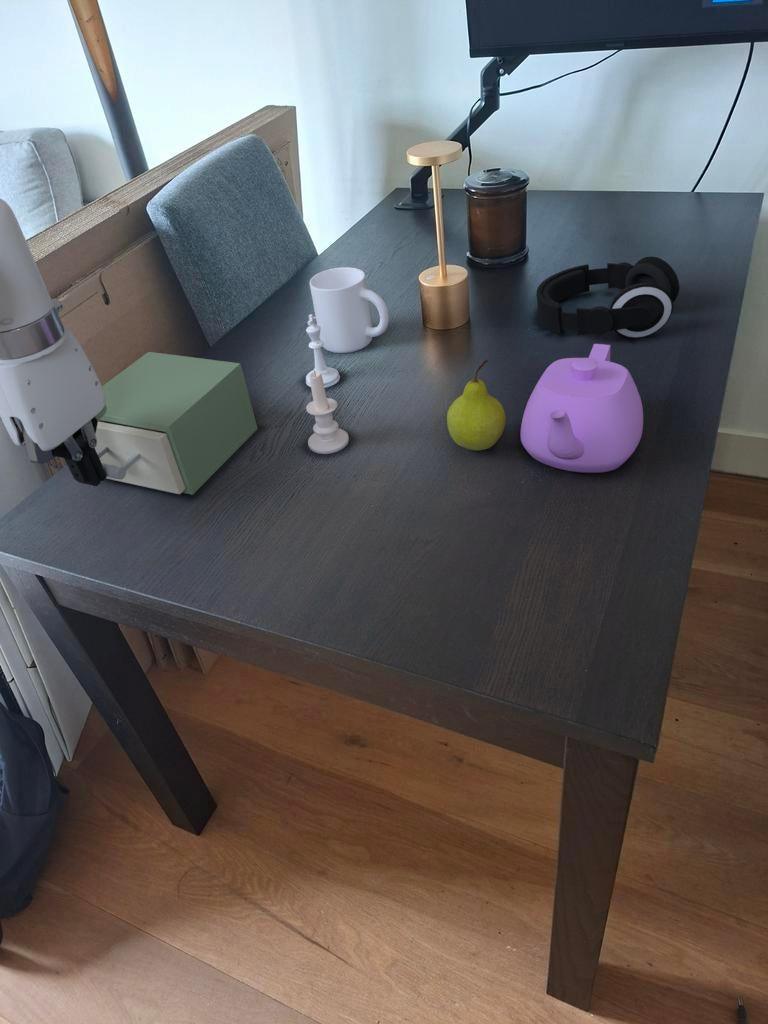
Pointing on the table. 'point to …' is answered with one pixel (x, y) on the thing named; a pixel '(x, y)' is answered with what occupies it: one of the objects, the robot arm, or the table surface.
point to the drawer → (138, 457)
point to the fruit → (476, 417)
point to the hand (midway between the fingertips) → (92, 480)
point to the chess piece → (320, 356)
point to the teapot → (583, 414)
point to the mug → (345, 309)
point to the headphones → (631, 309)
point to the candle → (324, 420)
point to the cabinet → (185, 409)
